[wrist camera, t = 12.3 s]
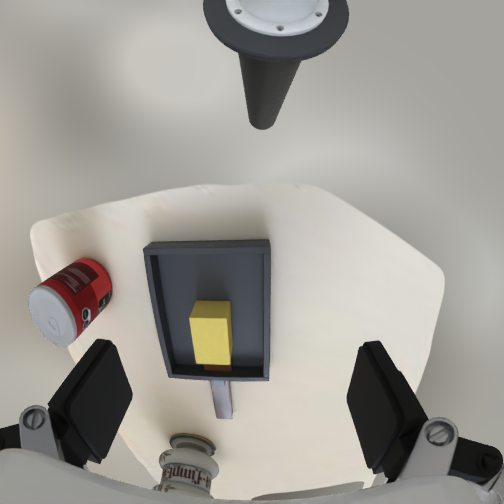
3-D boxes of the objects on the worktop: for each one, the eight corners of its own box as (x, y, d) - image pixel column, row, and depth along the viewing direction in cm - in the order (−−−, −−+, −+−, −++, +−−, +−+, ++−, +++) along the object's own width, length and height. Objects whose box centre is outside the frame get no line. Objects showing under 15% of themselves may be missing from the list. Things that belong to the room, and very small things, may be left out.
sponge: (196, 300, 35) (188, 317, 31) (230, 300, 35) (226, 318, 31) (201, 344, 37) (196, 363, 33) (232, 344, 37) (230, 365, 33)
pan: (151, 241, 33) (142, 248, 30) (269, 239, 33) (270, 246, 30) (173, 365, 39) (168, 377, 36) (268, 367, 39) (269, 381, 36)
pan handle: (210, 365, 39) (208, 377, 36) (227, 366, 39) (226, 378, 36) (217, 411, 42) (216, 422, 39) (232, 411, 42) (231, 423, 39)
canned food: (88, 312, 37) (51, 351, 26) (64, 266, 34) (19, 296, 24) (123, 299, 36) (86, 342, 25) (97, 248, 34) (49, 278, 23)
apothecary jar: (219, 461, 48) (213, 527, 31) (167, 452, 48) (151, 515, 31) (222, 435, 45) (214, 513, 27) (162, 425, 44) (140, 498, 27)
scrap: (202, 344, 37) (201, 349, 36) (230, 345, 37) (230, 350, 36) (205, 365, 38) (204, 370, 37) (232, 366, 38) (231, 371, 37)
